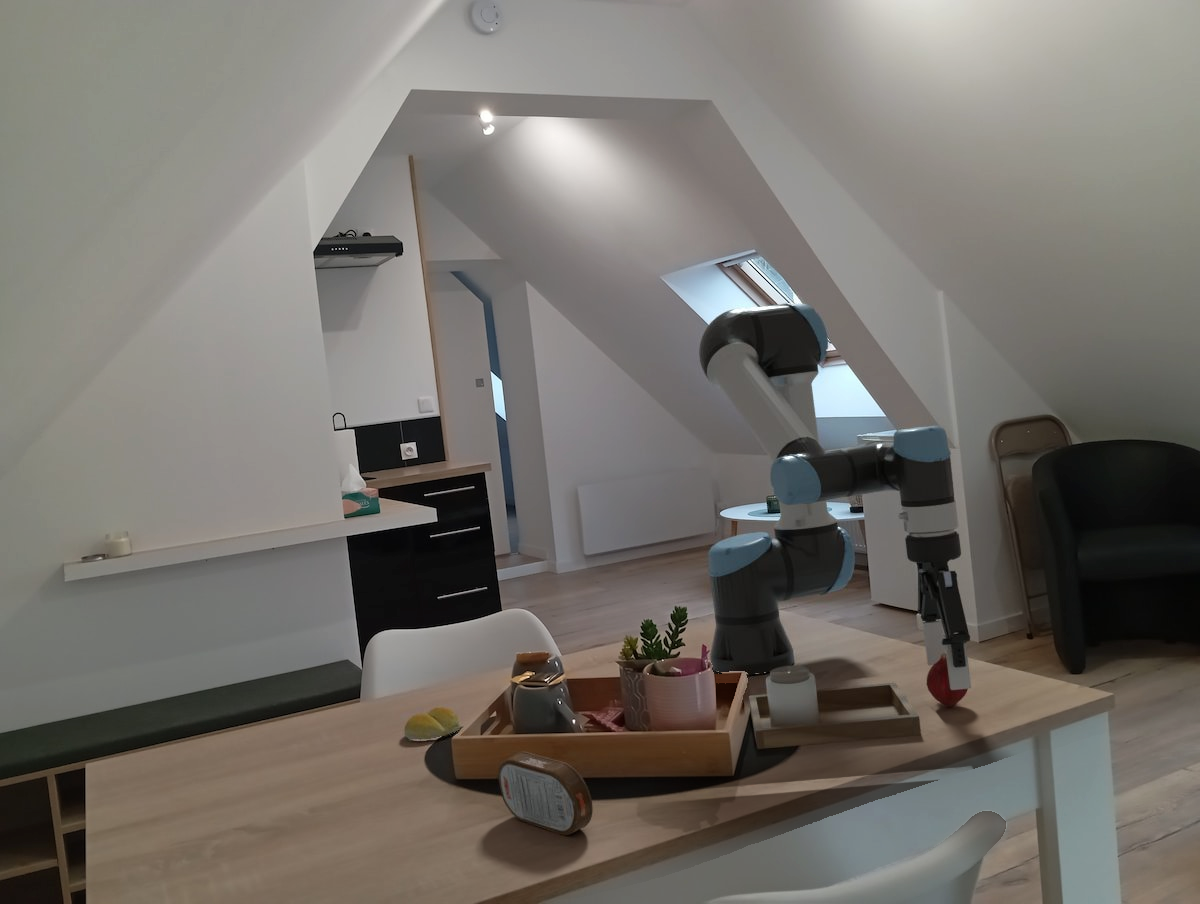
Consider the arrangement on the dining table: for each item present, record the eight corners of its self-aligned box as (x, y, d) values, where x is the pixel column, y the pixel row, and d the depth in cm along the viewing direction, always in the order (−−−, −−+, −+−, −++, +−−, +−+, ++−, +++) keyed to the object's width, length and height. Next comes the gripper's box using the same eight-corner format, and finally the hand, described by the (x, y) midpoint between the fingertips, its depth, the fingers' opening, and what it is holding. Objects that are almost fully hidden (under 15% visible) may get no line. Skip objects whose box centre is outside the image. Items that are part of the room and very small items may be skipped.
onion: (976, 710, 144) (971, 656, 143) (936, 715, 144) (930, 661, 143) (963, 698, 149) (957, 646, 149) (924, 703, 150) (918, 651, 149)
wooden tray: (751, 718, 152) (748, 695, 152) (897, 705, 150) (895, 682, 150) (758, 755, 136) (755, 730, 136) (921, 741, 134) (919, 716, 134)
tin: (598, 834, 118) (589, 765, 118) (579, 845, 116) (570, 774, 115) (517, 808, 129) (509, 744, 128) (498, 817, 127) (490, 752, 126)
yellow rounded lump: (398, 737, 165) (395, 713, 165) (447, 722, 170) (444, 699, 170) (417, 748, 158) (414, 723, 158) (468, 732, 163) (465, 708, 163)
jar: (769, 719, 148) (763, 667, 147) (816, 715, 147) (810, 662, 147) (773, 736, 141) (766, 680, 140) (823, 731, 140) (816, 675, 140)
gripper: (888, 525, 158) (904, 657, 159) (924, 546, 133) (943, 702, 134) (936, 520, 157) (952, 652, 158) (982, 540, 133) (1000, 697, 133)
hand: (948, 675), depth 146 cm, fingers open, 13 cm apart
